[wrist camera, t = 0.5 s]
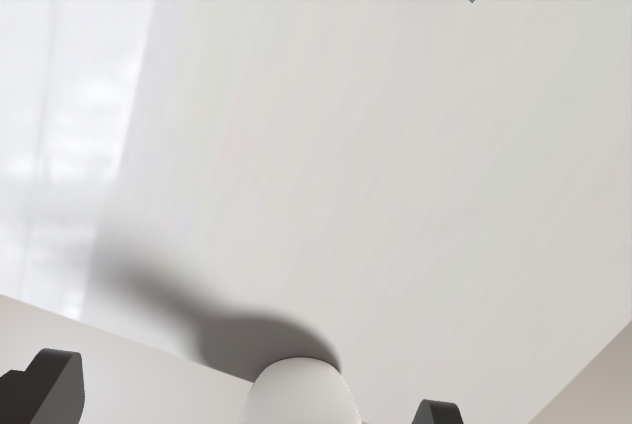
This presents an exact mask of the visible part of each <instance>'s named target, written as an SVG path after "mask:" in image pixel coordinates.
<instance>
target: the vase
mask: <svg viewBox="0 0 632 424" xmlns="http://www.w3.org/2000/svg"><path fill="white" fill-rule="evenodd" d="M238 424H362V423H361V419H360V416H359V412H358V409H357V406H356V404H355V401H354V398H353V396H352V393H351V391H350V389H349V387H348V385H347V383H346V382H345V380H344V379H343V378H342V376H341V375H340V374H339V372H338V371H337V370H336V369H335V368H334V367H333V366H331V365H330V364H328V363H326V362H324V361H321V360H318V359H313V358H304V357H299V358H289V359H284V360H280V361H277V362H275V363H273V364H271V365H269V366H268V367H267V368H266V369H265V370H264V371H263V372H262V373H261V374H260V375H259V377H258V378H257V379H256V381H255V383H254V384H253V386H252V388H251V390H250V391H249V393H248V396H247V398H246V400H245V403H244V405H243V408H242V411H241V414H240V418H239V421H238Z"/></svg>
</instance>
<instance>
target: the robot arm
mask: <svg viewBox="0 0 632 424" xmlns="http://www.w3.org/2000/svg"><path fill="white" fill-rule="evenodd" d="M84 401H85V393H84V382H83V370H82V358H81V355H80V353H77V352H70V351H62V350H55V349H47V348H46V349H45V348H44V349H42V350H41V351H40V352H39V353H38V354H37V355H36V356H35V358H34V359H33V361H32V362H31V363H30V365H29V366H28V368H27V369H26V370H25V371H17V370H10V371H9V372H7V373H6V374H4V375H3V376H2V377H0V424H78V423H79V420H80V418H81V415H82V412H83V407H84ZM412 424H463V421H462V417H461V414H460V411H459V409H458V407H457V405H456V404H454V403H448V402H441V401H433V400H426V399H424V400H422V402H421V403H420V405H419V408H418V410H417V412H416V415H415V417H414V420H413V422H412Z"/></svg>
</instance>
